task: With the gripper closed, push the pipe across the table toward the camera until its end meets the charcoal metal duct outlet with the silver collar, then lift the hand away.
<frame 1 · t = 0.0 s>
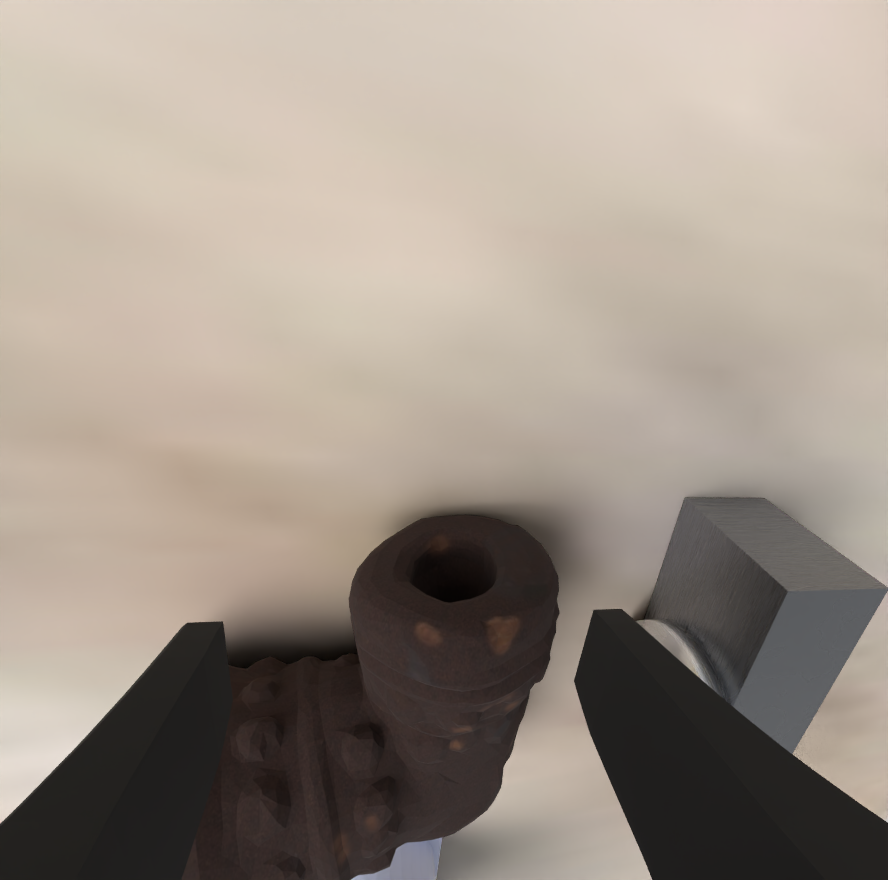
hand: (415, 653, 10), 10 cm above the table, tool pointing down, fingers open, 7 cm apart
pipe: (364, 643, 23), on the table
duct outlet: (672, 637, 26), on the table
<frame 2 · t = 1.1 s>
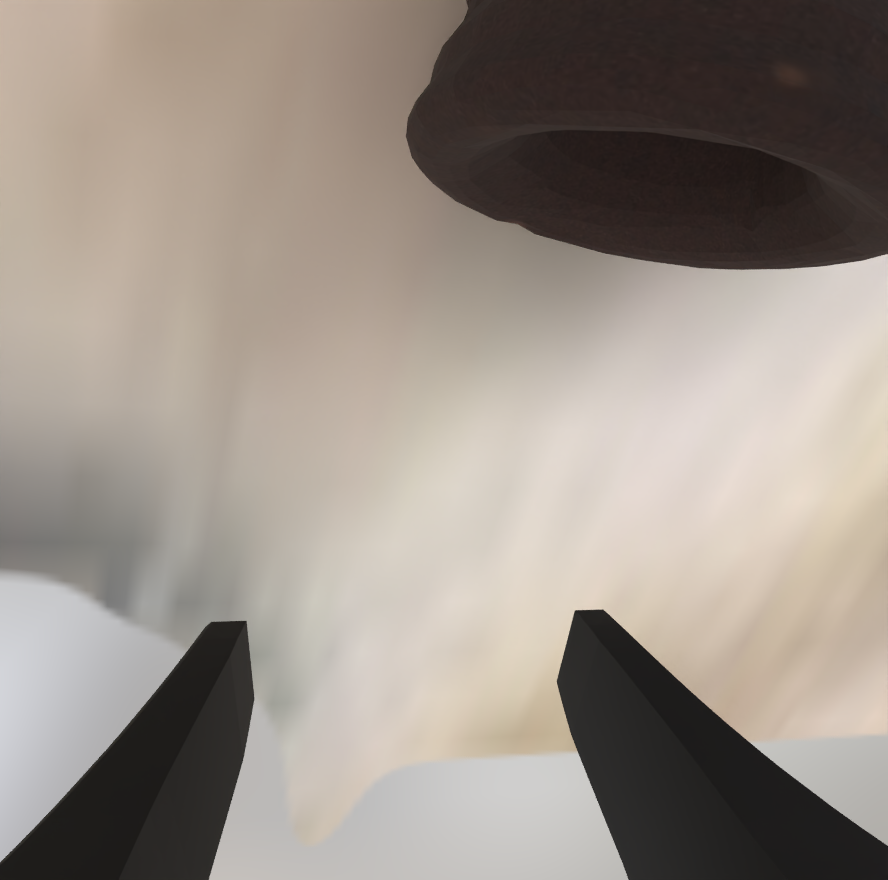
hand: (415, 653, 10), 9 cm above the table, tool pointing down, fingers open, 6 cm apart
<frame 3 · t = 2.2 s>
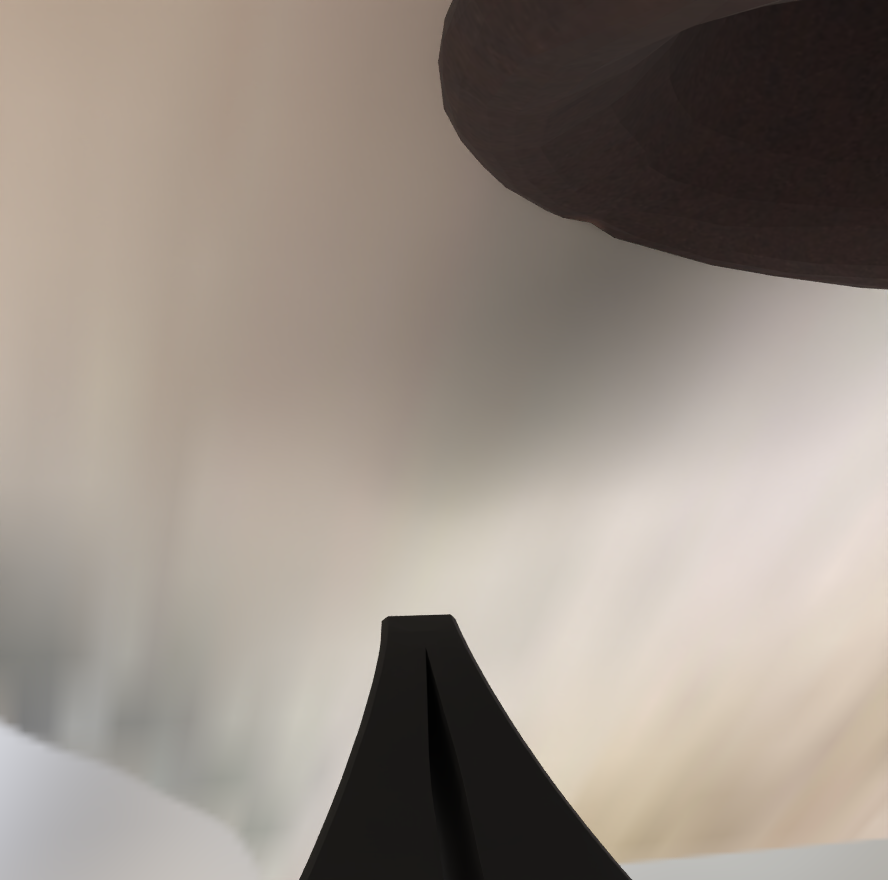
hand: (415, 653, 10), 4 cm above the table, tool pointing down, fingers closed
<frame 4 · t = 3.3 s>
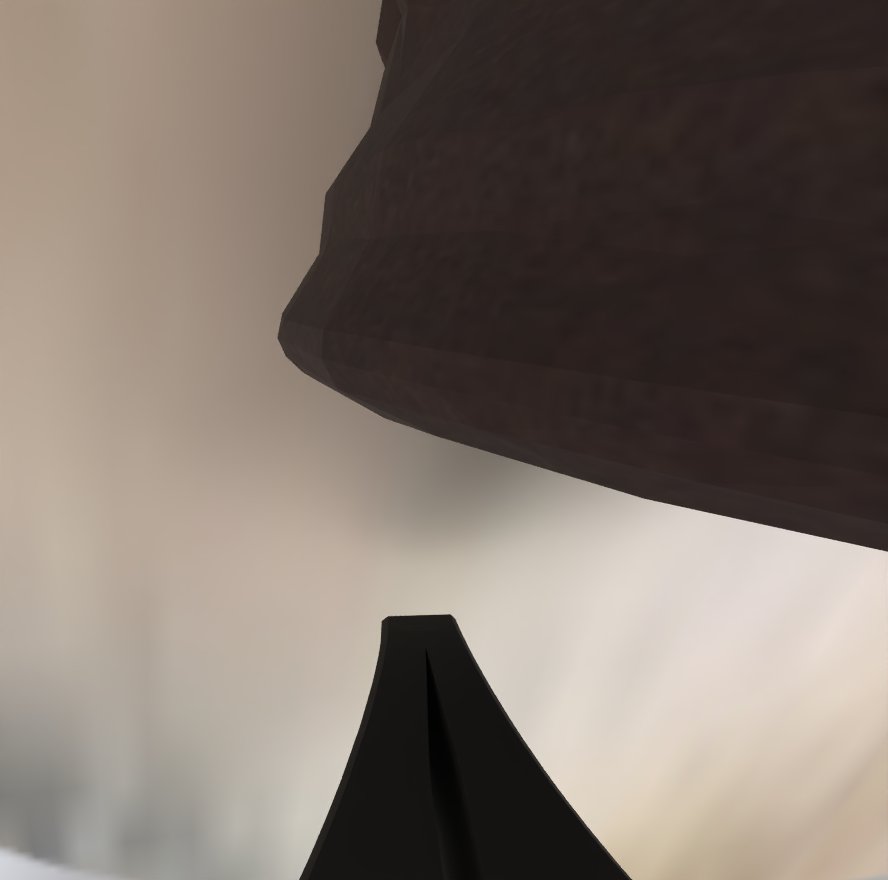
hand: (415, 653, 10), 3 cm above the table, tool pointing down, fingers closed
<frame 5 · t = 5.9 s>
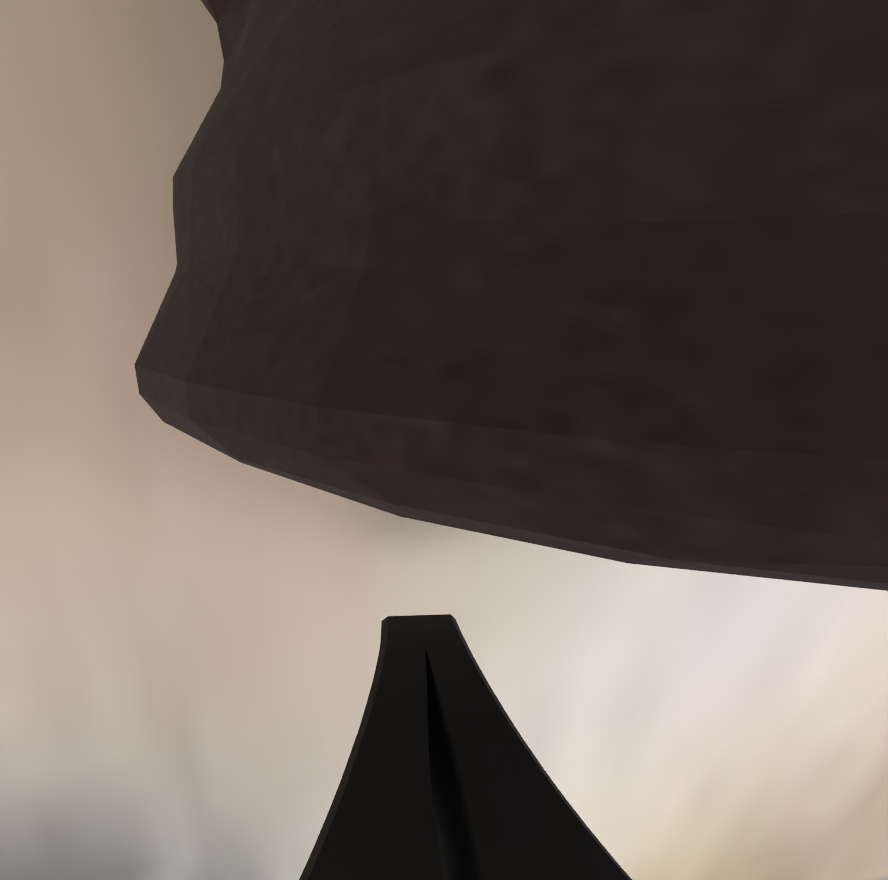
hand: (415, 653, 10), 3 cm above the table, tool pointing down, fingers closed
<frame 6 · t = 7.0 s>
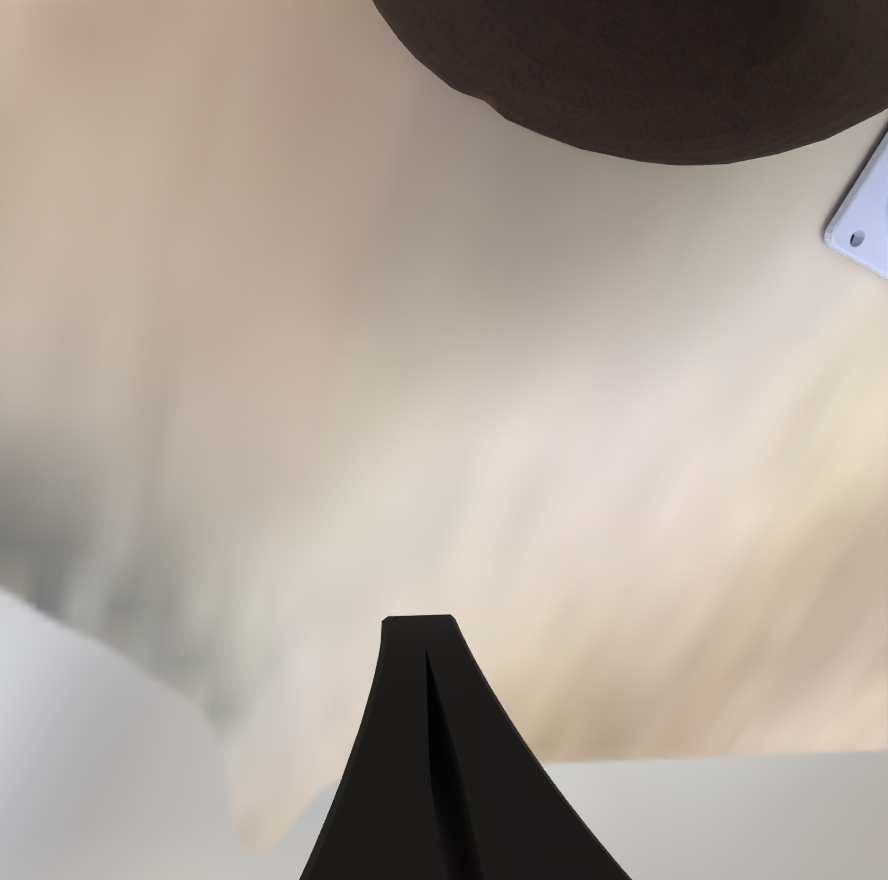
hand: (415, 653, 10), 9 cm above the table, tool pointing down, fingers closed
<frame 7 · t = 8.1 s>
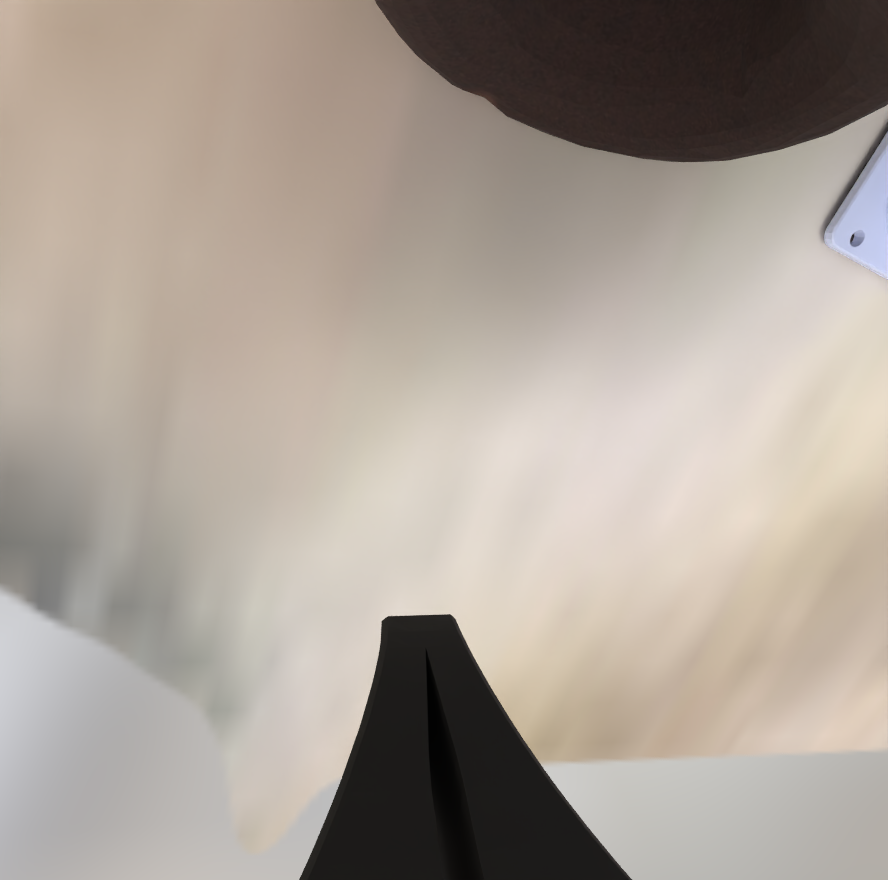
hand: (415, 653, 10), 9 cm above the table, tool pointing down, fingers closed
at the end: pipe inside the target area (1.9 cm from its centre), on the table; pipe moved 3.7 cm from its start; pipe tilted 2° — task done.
